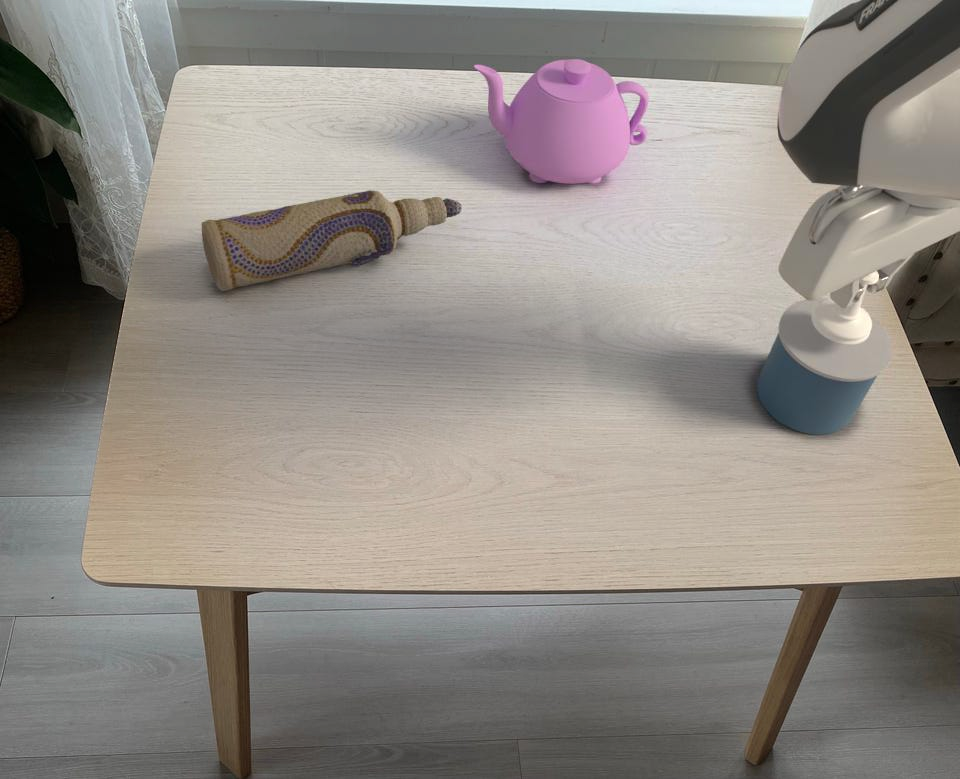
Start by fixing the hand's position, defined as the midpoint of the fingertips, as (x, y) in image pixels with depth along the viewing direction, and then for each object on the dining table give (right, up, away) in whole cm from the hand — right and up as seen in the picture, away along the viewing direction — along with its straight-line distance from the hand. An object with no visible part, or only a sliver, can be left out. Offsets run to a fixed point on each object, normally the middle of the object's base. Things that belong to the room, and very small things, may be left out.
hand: (857, 293), depth 78 cm
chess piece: (0, -2, +3) cm, 4 cm away
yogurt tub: (-1, -9, +10) cm, 13 cm away
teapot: (-22, +18, +31) cm, 43 cm away
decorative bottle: (-45, +5, +18) cm, 49 cm away
